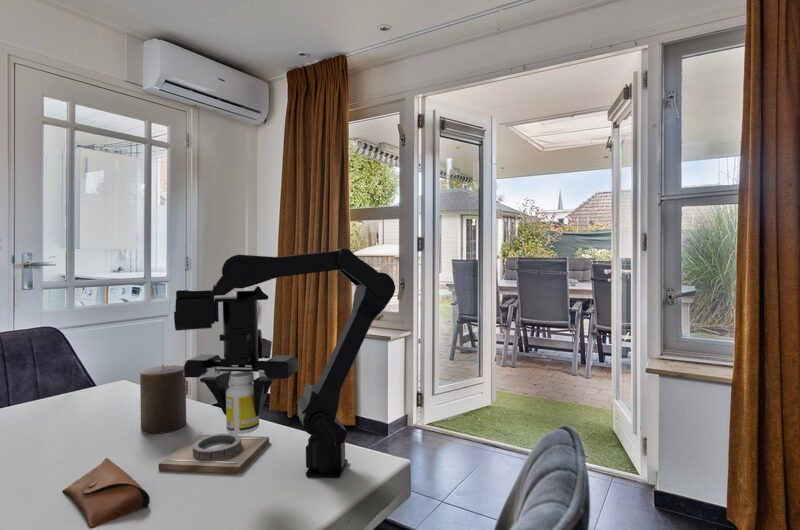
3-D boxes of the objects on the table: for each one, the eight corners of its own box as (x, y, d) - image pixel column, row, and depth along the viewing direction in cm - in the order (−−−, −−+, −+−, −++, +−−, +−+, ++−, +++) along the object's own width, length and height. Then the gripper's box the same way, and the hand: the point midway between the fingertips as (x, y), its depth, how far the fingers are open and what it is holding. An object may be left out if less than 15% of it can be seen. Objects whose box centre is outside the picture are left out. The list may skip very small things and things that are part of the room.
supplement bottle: (264, 423, 82) (262, 370, 82) (251, 435, 77) (250, 378, 77) (235, 423, 83) (234, 369, 83) (220, 435, 77) (219, 377, 77)
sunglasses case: (57, 490, 79) (79, 450, 81) (97, 496, 84) (117, 459, 86) (90, 530, 67) (115, 482, 70) (135, 534, 72) (157, 490, 74)
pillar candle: (173, 434, 104) (172, 368, 103) (131, 434, 104) (130, 368, 104) (194, 419, 113) (193, 359, 113) (155, 419, 113) (154, 359, 113)
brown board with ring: (269, 442, 98) (268, 430, 98) (238, 473, 84) (238, 459, 84) (199, 439, 100) (199, 427, 100) (158, 469, 86) (158, 455, 86)
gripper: (307, 319, 86) (308, 401, 87) (214, 319, 89) (216, 399, 89) (285, 329, 75) (287, 422, 76) (180, 329, 78) (182, 419, 78)
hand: (242, 414), depth 80 cm, fingers closed on supplement bottle, 5 cm apart
